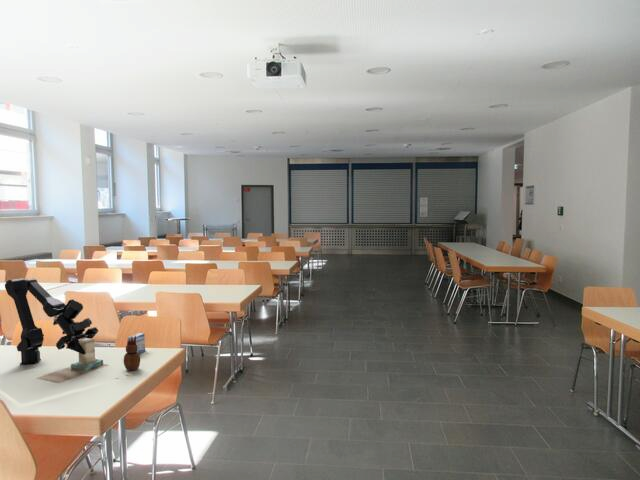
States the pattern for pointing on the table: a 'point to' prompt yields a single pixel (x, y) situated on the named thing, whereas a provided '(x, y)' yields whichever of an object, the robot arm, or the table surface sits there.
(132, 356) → the wooden figurine
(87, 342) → the birch block
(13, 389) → the table surface
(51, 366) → the table surface
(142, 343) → the medicine box
